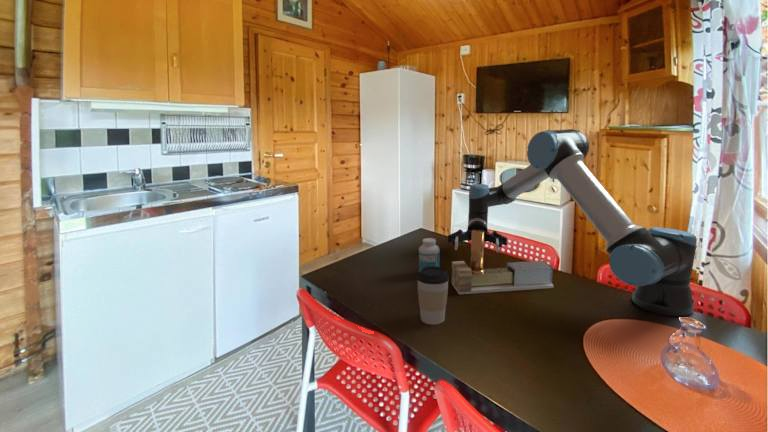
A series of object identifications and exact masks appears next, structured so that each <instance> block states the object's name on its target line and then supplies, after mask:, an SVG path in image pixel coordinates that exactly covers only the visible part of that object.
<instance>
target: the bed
mask: <svg viewBox="0 0 768 432" xmlns="http://www.w3.org/2000/svg"><path fill="white" fill-rule="evenodd" d="M451 285H452V286H453V288H454V289H455V291H456V292H457V294H458V295H470V294H471V295H472V294H484V293H485V294H486V293H500V292H513V291H514V292H516V291H528V290H541V289H543V290H546V289H554V286H555V285H554V284H553V283H552V284H540V285H526V286H514V285H513V283H510V284H495V285H480V286H471V291H469V292H468V291H461V292H459V291H458V290H457V288H456V287H455V285H454V284H453V282H452V281H451Z"/></svg>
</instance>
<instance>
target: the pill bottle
mask: <svg viewBox="0 0 768 432" xmlns="http://www.w3.org/2000/svg"><path fill="white" fill-rule="evenodd" d="M436 243H437V240H436V239H435V238H432V237H428V238H427V237H426V238H423V239H422V244H421V245H420V246H419V248H418V273H419V272H420V271H421V270H422V269H423V268H425V267H431V266H434V267H440V266H441V265H440V262H441V261H440V257H441V256H440V255H441V254H440V253H441V251H440V247H439V246H438V245H437V244H436ZM440 268H441V267H440Z"/></svg>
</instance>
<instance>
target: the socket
mask: <svg viewBox="0 0 768 432" xmlns="http://www.w3.org/2000/svg"><path fill="white" fill-rule="evenodd" d="M470 268H471V267H469V265H468V264H467V263H466V262H465V260H458V261H457V260H456V261H451V283H452V282H453V284H454V285H455V287H456V288H457V290H458V291H459V292H461V291H468V292H469V291H471V282H472V270H471V269H470Z"/></svg>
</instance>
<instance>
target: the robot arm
mask: <svg viewBox="0 0 768 432" xmlns="http://www.w3.org/2000/svg"><path fill="white" fill-rule="evenodd" d="M589 151H590V142H589V139H588V137H587V136H586V135H585V133H583V132H582V131H580V130H577V129H572V128H571V129H567V128H566V129H554V130H551V129H547V130H544V131H540V132H537V133H535V134H534V135H533V136H532V137H531V139H529V142H528V145H527V151H526V156H527V161H528V163H529V165H528V166H527V167H525V168H524V169H522V170H520V171H519V172H518V173H516V174H515V175H513V176H511V178H509V179H507V180H506V181H504V182H502V183H501V184H499V185H498V186H495V187H490V186H489V185H487V184H485V183H475V184H474V183H473V184H471V185H470V187H469V192H468V218H467V219H468V220H467V230H465V231H464V230H462V229H461V228H460V229H458V230H457V231H454V232H453V233H450V234H448V235H447V243H449V244H451V245H452V246H454V251H457V250H458V246H459V243H461V242H464V241H465V242H466V241H467V242H470V241H471V236H472V230H482V231H484V243H486V242H488V243H491V244H493V245H495V252H496V253H499V250H500V248H502V246H507V245H508V238H507V237H506V236H504V235H502V234H501V233H498V231H496V230H493V231H492V232H489V231H488V230H489V229H488V223H489V221H488V217H489V207H490V208H491V207H495V206H502V205H508V204H511V203H513V202H515V201H516V199H517V197H518V196H520V195H521V194H523V193H526V191H529V190H530V189H531V188H534V187H535V186H537V185H539V184H540V183H542V182H543V181H545V180H547V179H548V178H549V179H550V180H557V181H558V182H559V183H560V184H561V186H562V187H563V188H564V189H565V191H566V192H567V194H569V195H570V197H571V198H572V200H573V201H574V202H575V203H576V204H577V206H578V207H579V208H580V210H581V211H582V212H583V213H584V216H585V217H587V219H588V220H589V221H590V223H591V224H592V225H593V226H594V228H595V229H596V230H597V231H598V233H599V234H600V235H601V237H602V238H603V240H604V241H605V242H606V246H605V251H606V253H607V254H608V255H609V258H608V260H609V264H608V265H609V269H610V270H611V272H612V274H613V275H614V276H615V277H616V278H617V279H618V280H619V281H621V282H622V283H624V284H626V285H628V286H633V287H636V288H634V290H633V293H632V296H631V297H632V298H631V301H632V302H633V303H634V304H635V306H637V307H639V308H641V309H643V310H645V311H647V312H650V313H652V314H653V313H654V314H658V315H662V316H668V317H685V316H689V315H691V314H693V312H694V307H695V302H694V300H693V294H692V289H691V278H692V273H693V268H694V261H695V255H696V250H697V248H698V245H697V241H698V239H697V236H696V235H695V234H693V233H691V232H688V231H684V230H679V229H674V228H666V227H658V226H657V227H656V226H653V227H650V228H649V229H647V227H645V226H641V225H637V224H635V223H634V222H633V221H632V219H630V217H629V216H628V215H627V214H626V212H625V211H624V210H623V208H621V206H620V205H619V203H617V201H616V200H615V199H614V198H613V196H612V195H610V193H609V192H608V191H607V190H606V188H605V187H604V186H603V184H601V182H600V181H599V180H598V179H597V178H596V176H595V175H594V174H593V173H592V172H591V170H590V169H589V168H588V167H587V166H586V165H585V163H584V160H585V159H586V157H587V156H588V153H589Z"/></svg>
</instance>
